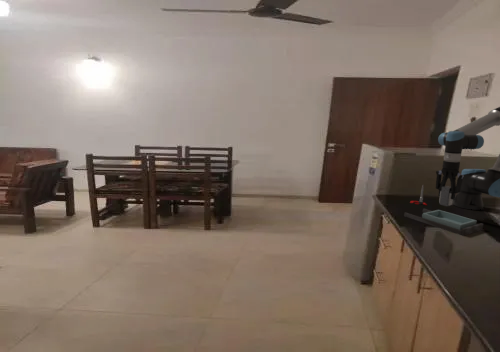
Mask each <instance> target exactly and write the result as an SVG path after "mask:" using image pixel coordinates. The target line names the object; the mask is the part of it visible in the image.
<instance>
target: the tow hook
mask: <svg viewBox="0 0 500 352" xmlns="http://www.w3.org/2000/svg"><path fill="white" fill-rule="evenodd" d="M424 187H425V186H424V184H422V186H421V190H420V197H419V201H418V200H410V202H409V203H410V204H413V203H414V204H415V205H422V206H423V205H424V206H428V204H427V203H426V202H424V201H423V200H424V190H425V189H424Z"/></svg>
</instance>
